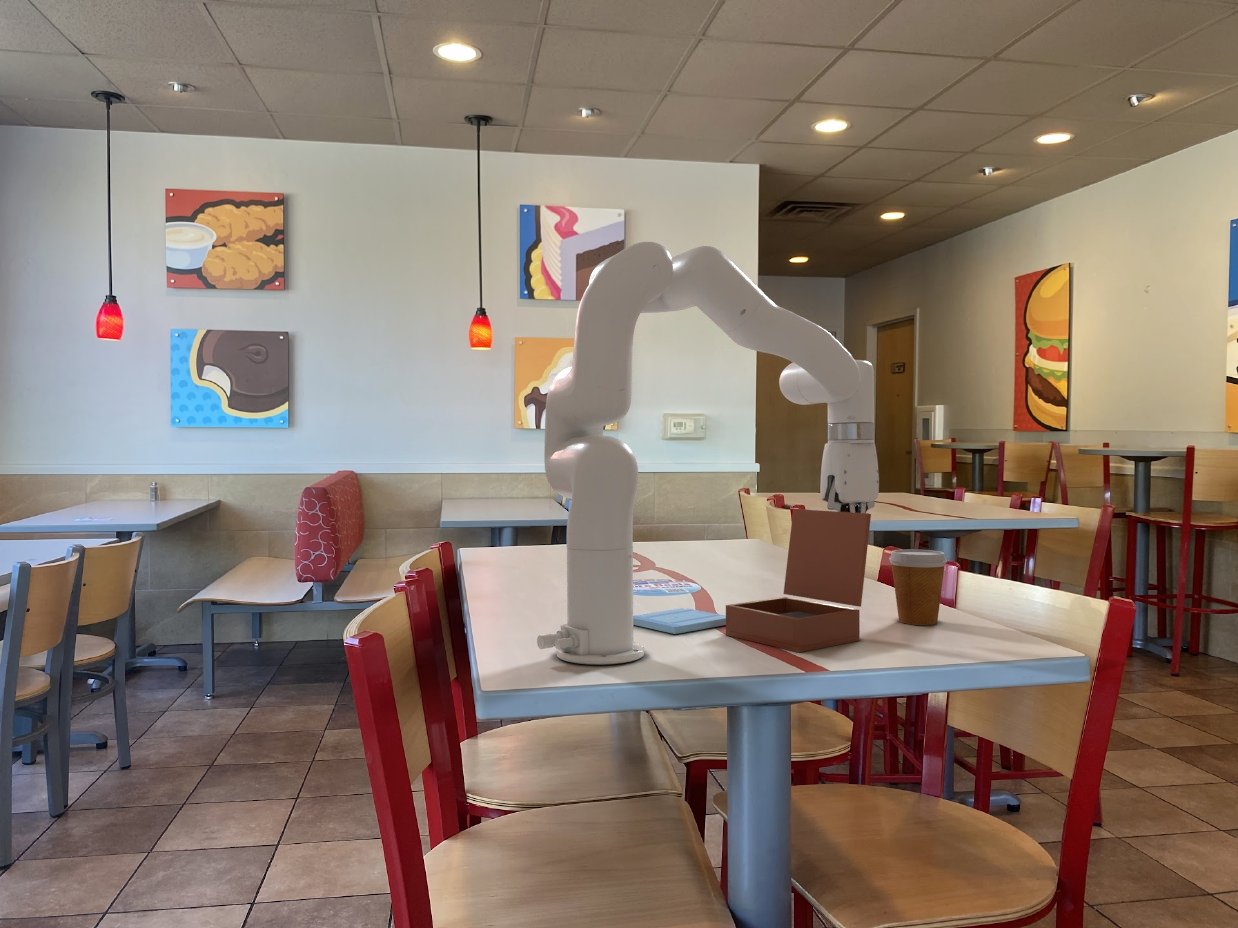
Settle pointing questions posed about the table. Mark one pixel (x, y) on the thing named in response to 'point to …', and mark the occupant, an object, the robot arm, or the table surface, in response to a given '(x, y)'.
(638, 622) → the light blue flat block
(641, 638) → the table surface
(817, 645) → the flip case
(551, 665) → the table surface
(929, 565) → the disposable coffee cup
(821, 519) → the cover
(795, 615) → the dark grey block
